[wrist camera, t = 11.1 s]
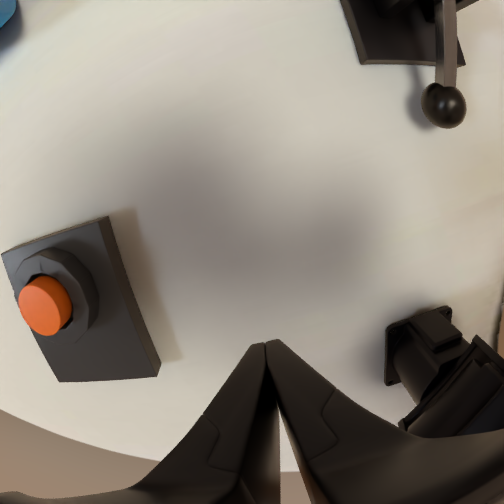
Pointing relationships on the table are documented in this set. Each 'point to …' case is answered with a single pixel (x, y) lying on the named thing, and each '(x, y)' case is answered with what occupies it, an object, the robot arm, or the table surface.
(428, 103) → the lever
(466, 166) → the table surface
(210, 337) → the table surface
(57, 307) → the button
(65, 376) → the button block
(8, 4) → the alarm clock
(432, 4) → the bracket
